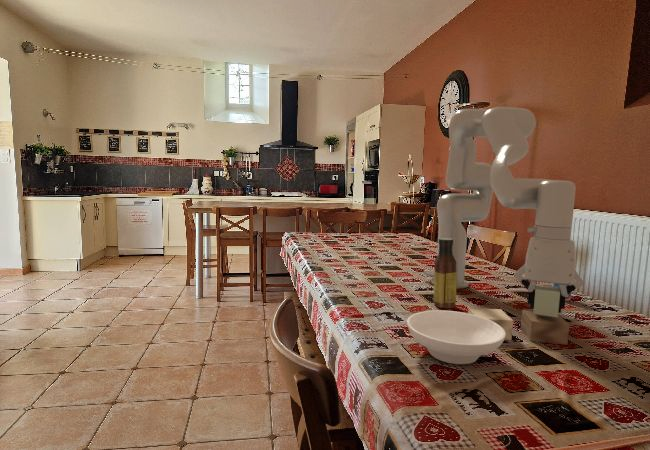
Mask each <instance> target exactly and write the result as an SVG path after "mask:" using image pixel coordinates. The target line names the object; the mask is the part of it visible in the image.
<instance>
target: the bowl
mask: <svg viewBox="0 0 650 450" xmlns="http://www.w3.org/2000/svg"><path fill="white" fill-rule="evenodd" d="M406 325H407V328H408V331H409V333H410V335H411V336H412V338H413V339H414V340H415V341H416V342H417V343H418V344H419V345H420V346H424V348H426V349H427V351H428V352H429V354H430V355H431V356H432V357H433V358H435V359H437V360H439V361H442V362H445V363H448V364H454V365H467V364H472V363H475V362H476V361H477V360H478V359H479V358H480V357H482V356H485V355H490V354H491V353H493V352H495V351H496V350H497V349H499V348H500V346H501V345H503V343H504V341H505V340H504V339H505V335H506V333H505V330H504V329H503V328H502V327H501V326H499V325H498V324H497V323H495V322H493V321H491V320H488V319H486V318H483V317H480V316H477V315H473V314H468V312H461V311H455V310H454V311H453V310H441V309H439V310H437V309H436V310H435V309H433V310H423V311H420V312H416V313H413V314H411V315H410V316H409V317H408V318H407V319H406Z"/></svg>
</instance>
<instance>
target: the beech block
mask: <svg viewBox="0 0 650 450" xmlns="http://www.w3.org/2000/svg"><path fill="white" fill-rule="evenodd" d="M467 309H468V310H467V313H468V314H473V315H477V316H480V317H483V318H486V319H488V320H491V321H493V322H495V323H497V324H498V325H499V326H501V327H502V328H503V329H504V330H505V333H506V335H505V339H504V341H512V339H513V337H512V336H513V327H514V320H513V319H512V318H511V317H510V316H509V315H508V314H507V313H506V312H505V311H503V309H501V308H482V307H481V308H479V307H468V308H467Z"/></svg>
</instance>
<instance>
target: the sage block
mask: <svg viewBox="0 0 650 450" xmlns="http://www.w3.org/2000/svg"><path fill="white" fill-rule="evenodd" d="M534 289H535V300H534V309H532V311H533V314H538V315H544V316H551V317H558V314H559V313H558V310H559V300H560V290H559V288H558V287H555V286H552V285H548V284H547V285H545V284H537V283H536V285H535V288H534Z"/></svg>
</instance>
